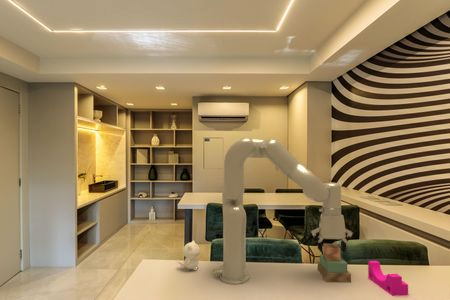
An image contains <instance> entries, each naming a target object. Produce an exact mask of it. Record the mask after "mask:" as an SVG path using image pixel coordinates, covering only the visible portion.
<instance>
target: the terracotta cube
mask: <svg viewBox="0 0 450 300" xmlns="http://www.w3.org/2000/svg"><path fill="white" fill-rule="evenodd" d="M322 252H323V256H324V257H325V259H326V260H327V261H341V258H342V257H341V253H342V250H341V246H339V245H338V244H337V243H322Z"/></svg>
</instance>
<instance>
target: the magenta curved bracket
mask: <svg viewBox="0 0 450 300" xmlns="http://www.w3.org/2000/svg"><path fill="white" fill-rule="evenodd" d="M367 267H368V268H367V272H368V273H367V274H368V275H367V278H369V279H368V280H370V281H371V282H372V281H373V283H374V284H375V285H377V286H378V287H380V288H381V289H382V290H383V291H385V292H386V293H388V294H389V295H391V296H392V297H394V296H398V297H399V296H409V284H408V283H406V282H405V281H403V276H402V275H400V274H398V273H387V274H384V273H383V270H382V269H381V263H380V262H379V261H377V260H368V262H367Z"/></svg>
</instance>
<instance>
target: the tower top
mask: <svg viewBox="0 0 450 300" xmlns="http://www.w3.org/2000/svg"><path fill="white" fill-rule="evenodd" d="M319 262H320V264H321V265H322V266H323V268H324V269H325V270H326V271H327V272H328V273H347V271H348V262H346V260H345V259H343V258H342V257H341V261H327V260H326V259H325V257H324V256H323V254H321V253H320V254H319Z"/></svg>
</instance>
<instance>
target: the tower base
mask: <svg viewBox="0 0 450 300" xmlns="http://www.w3.org/2000/svg"><path fill="white" fill-rule="evenodd" d="M317 271H318V272H320V273H319V274H320V276H321V277H322V278H323V280H324V281H325V282H326V283H351V281H352V274H351V272H350V271H348V270H347V273H328V272H327V271H326V270H325V269H324V268H323V266H322V265H321V264H320V261H317Z"/></svg>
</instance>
